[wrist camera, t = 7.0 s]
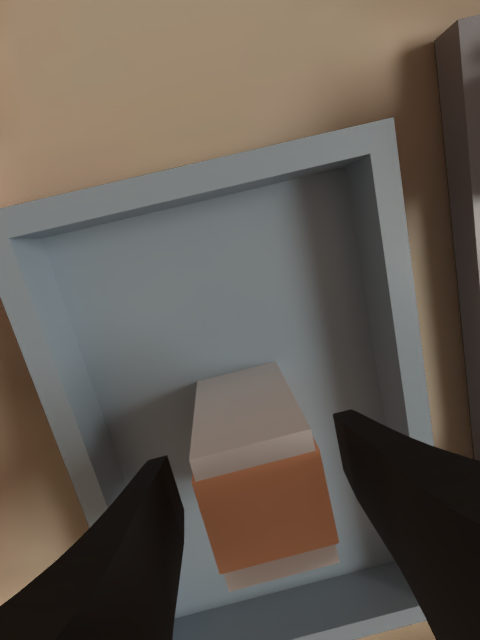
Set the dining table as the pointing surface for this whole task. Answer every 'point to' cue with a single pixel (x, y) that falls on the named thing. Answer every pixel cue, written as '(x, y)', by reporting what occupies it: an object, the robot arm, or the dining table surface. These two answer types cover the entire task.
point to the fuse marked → (259, 479)
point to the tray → (229, 345)
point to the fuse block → (464, 184)
